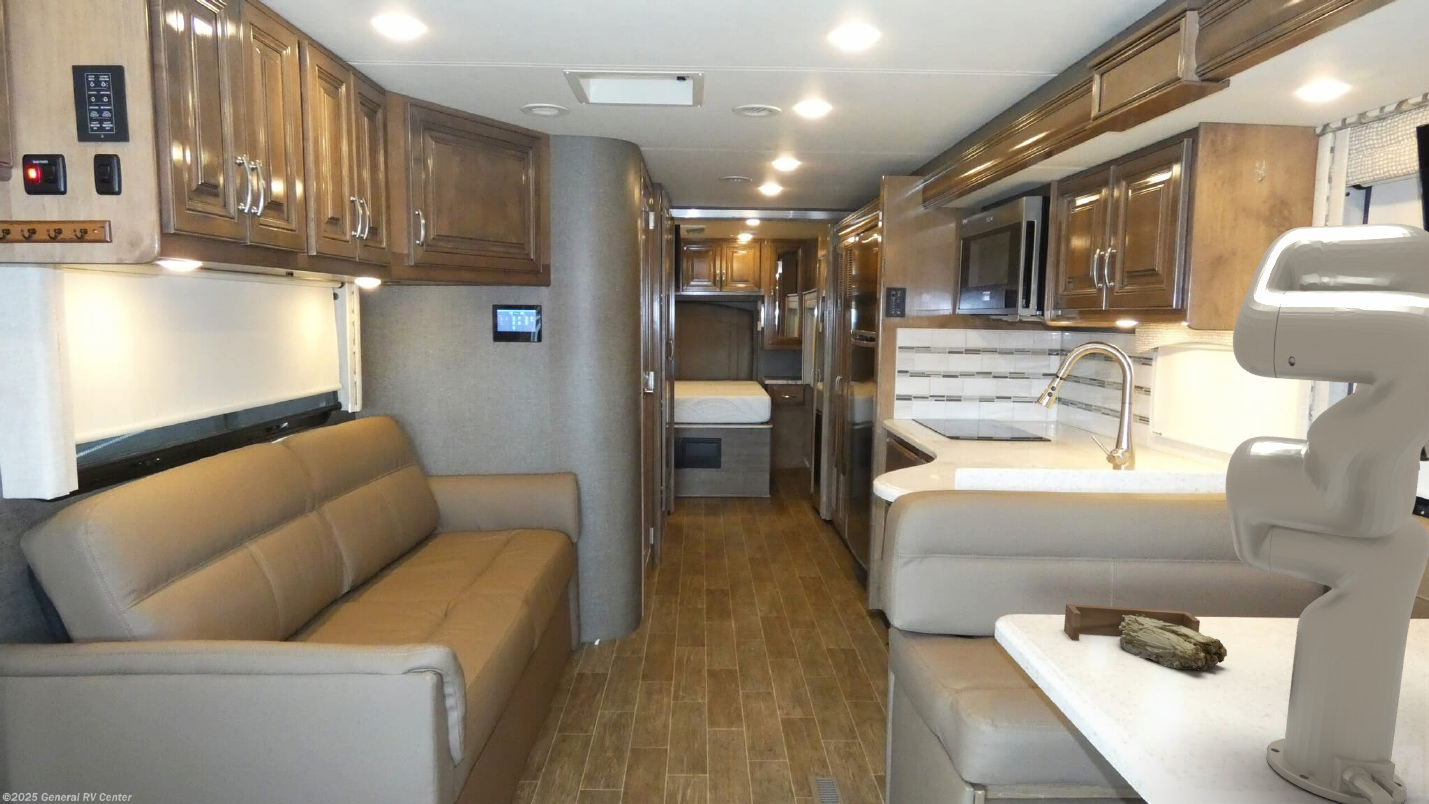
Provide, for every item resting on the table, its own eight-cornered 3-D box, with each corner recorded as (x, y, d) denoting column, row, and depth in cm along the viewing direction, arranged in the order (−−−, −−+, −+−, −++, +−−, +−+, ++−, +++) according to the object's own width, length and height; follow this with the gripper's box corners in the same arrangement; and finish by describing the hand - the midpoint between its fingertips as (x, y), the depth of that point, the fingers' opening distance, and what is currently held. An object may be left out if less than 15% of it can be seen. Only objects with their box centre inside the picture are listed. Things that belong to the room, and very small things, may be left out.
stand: (1197, 648, 127) (1199, 620, 127) (1072, 640, 129) (1074, 612, 129) (1185, 638, 131) (1187, 611, 131) (1064, 630, 133) (1066, 604, 133)
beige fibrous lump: (1231, 668, 121) (1234, 633, 121) (1200, 683, 116) (1203, 647, 115) (1136, 634, 133) (1138, 603, 132) (1103, 646, 128) (1106, 614, 127)
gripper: (1474, 376, 97) (1454, 525, 100) (1385, 368, 112) (1369, 497, 114) (1406, 374, 98) (1388, 522, 100) (1327, 366, 113) (1312, 495, 115)
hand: (1378, 508), depth 107 cm, fingers closed
